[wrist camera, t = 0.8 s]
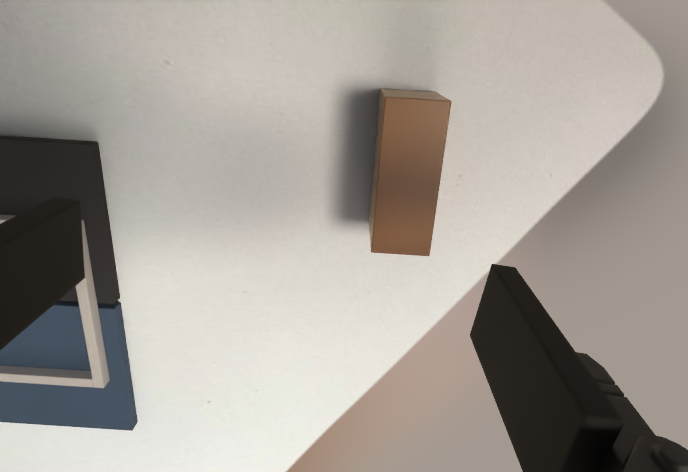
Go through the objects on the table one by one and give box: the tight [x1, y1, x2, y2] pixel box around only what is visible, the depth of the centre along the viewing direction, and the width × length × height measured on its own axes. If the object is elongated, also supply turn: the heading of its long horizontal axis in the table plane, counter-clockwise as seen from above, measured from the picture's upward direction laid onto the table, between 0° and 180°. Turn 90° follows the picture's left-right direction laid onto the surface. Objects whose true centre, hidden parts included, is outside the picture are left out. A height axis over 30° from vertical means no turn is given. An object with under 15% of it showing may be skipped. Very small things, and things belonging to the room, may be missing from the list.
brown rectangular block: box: [369, 88, 451, 256], centre depth 28 cm, size 9×4×5 cm, turn 177°
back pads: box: [0, 136, 137, 430], centre depth 34 cm, size 24×16×2 cm, turn 177°
